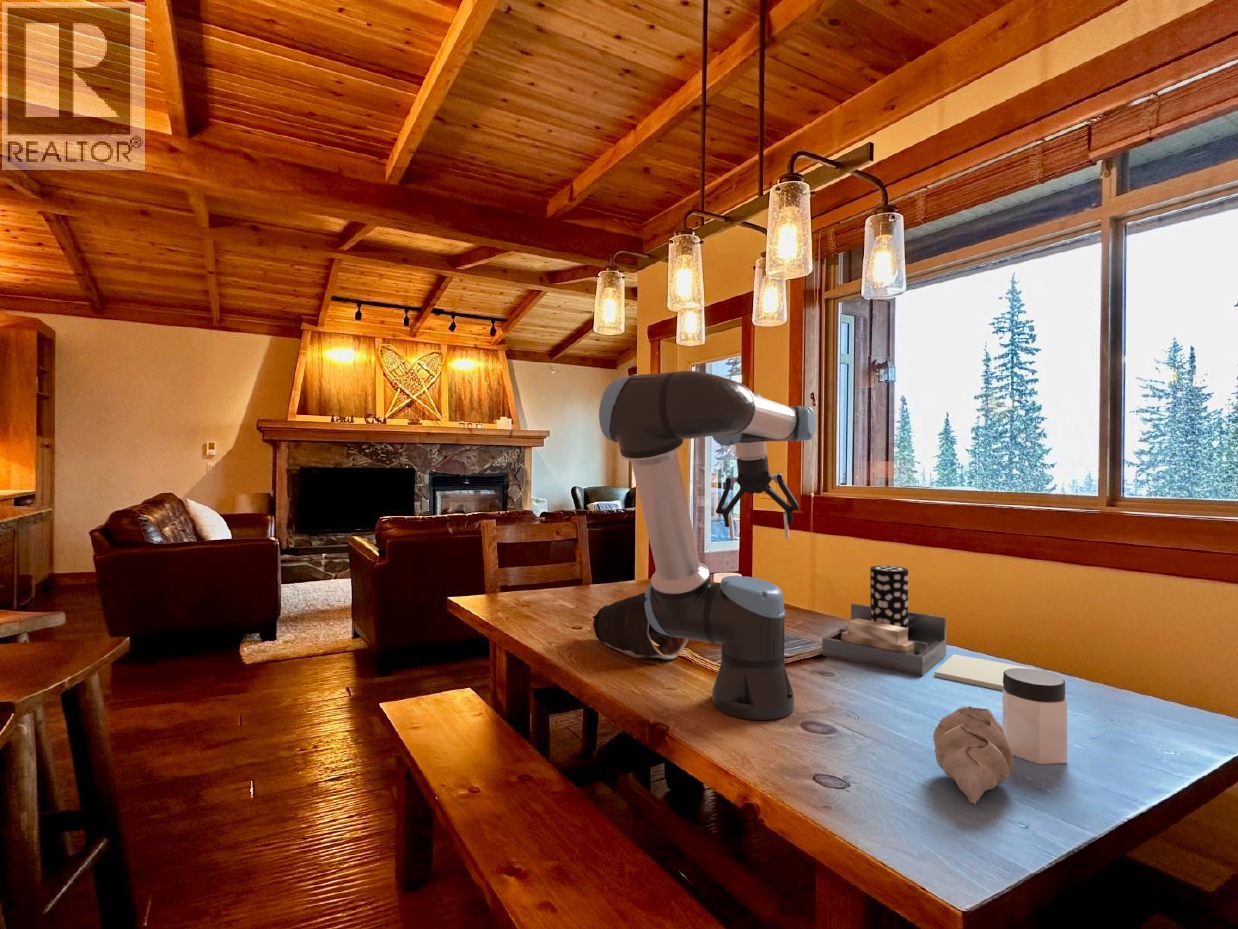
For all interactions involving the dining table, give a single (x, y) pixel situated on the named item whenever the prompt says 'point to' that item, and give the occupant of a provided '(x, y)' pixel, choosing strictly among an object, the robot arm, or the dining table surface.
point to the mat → (974, 671)
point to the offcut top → (878, 631)
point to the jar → (1035, 715)
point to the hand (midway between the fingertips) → (759, 537)
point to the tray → (921, 631)
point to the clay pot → (634, 630)
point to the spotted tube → (889, 595)
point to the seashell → (973, 750)
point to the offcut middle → (878, 643)
